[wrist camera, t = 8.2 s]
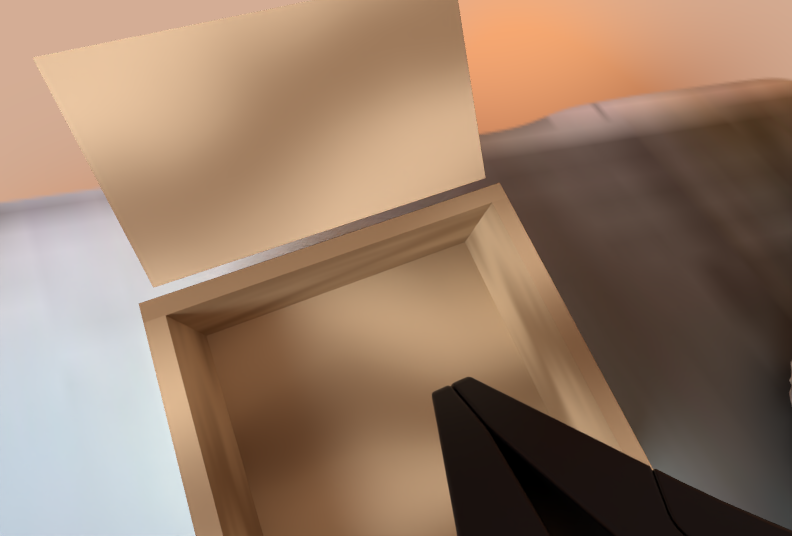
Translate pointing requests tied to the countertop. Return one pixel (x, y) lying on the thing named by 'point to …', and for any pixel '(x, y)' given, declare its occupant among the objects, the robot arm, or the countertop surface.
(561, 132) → the countertop surface
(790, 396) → the rock
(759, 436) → the countertop surface
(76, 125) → the flap
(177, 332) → the carton
